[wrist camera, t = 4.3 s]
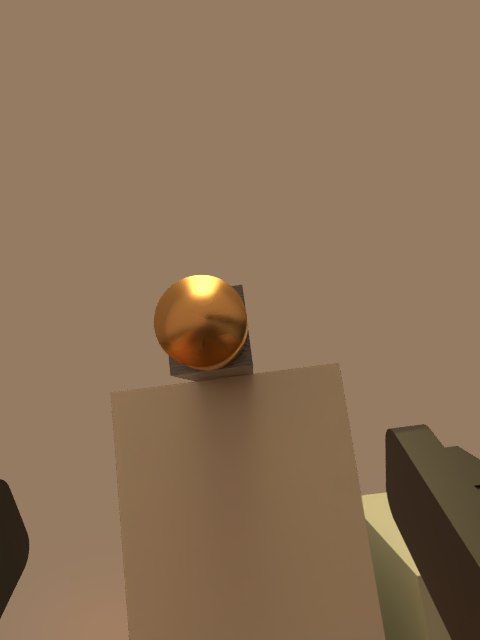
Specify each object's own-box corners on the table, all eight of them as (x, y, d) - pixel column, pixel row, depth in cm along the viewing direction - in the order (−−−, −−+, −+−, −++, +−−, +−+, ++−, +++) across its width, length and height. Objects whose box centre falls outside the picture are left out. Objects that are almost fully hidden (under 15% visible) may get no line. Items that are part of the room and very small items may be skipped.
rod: (253, 382, 37) (248, 347, 38) (252, 360, 14) (240, 269, 14) (218, 386, 37) (214, 352, 38) (158, 372, 14) (149, 281, 14)
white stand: (368, 799, 33) (304, 376, 38) (475, 1174, 17) (338, 362, 22) (211, 818, 33) (169, 393, 38) (171, 1208, 17) (110, 392, 23)
